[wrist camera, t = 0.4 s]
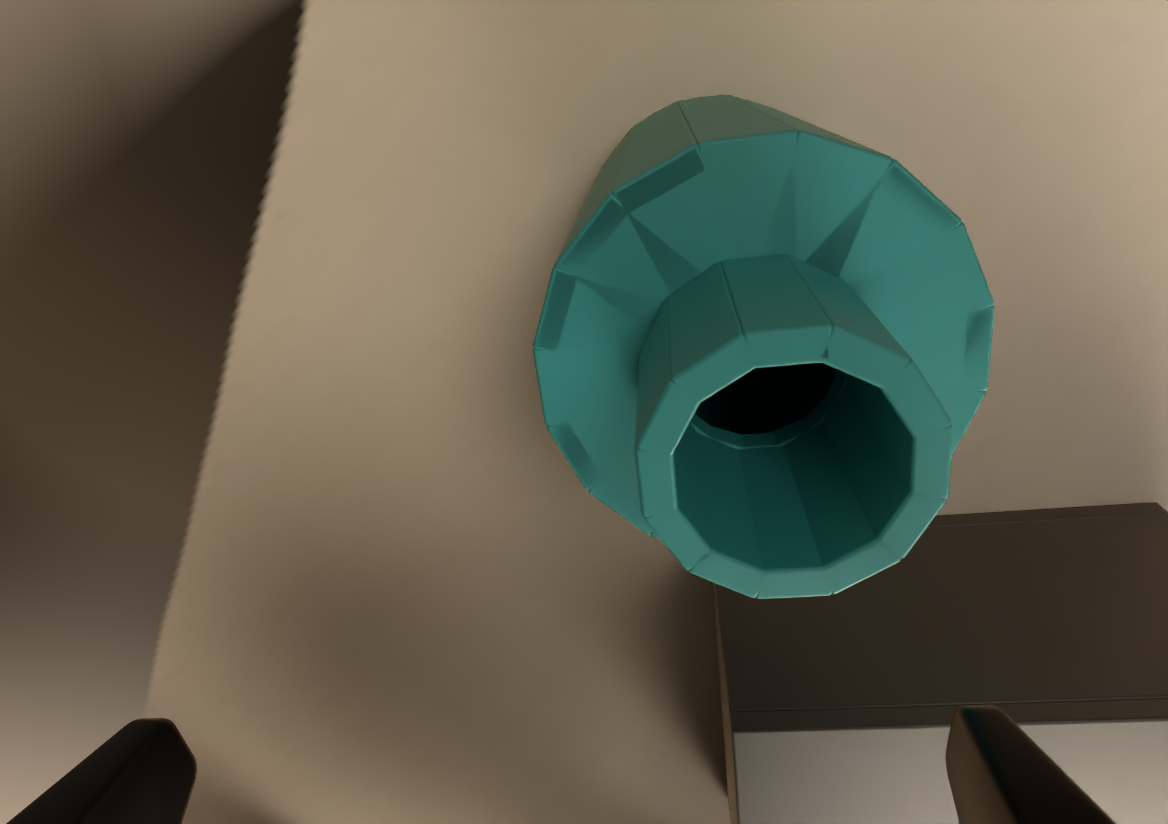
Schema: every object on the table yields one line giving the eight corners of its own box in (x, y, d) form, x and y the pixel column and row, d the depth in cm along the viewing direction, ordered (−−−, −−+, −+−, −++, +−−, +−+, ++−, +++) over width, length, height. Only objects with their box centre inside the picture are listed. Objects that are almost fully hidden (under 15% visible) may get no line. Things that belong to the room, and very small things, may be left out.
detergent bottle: (827, 320, 22) (1072, 691, 9) (606, 340, 22) (543, 709, 10) (827, 80, 19) (1165, 120, 6) (578, 112, 20) (444, 207, 7)
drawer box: (1157, 501, 23) (1396, 712, 16) (1100, 793, 28) (1260, 1060, 21) (708, 529, 25) (731, 731, 17) (728, 800, 30) (752, 1048, 22)
